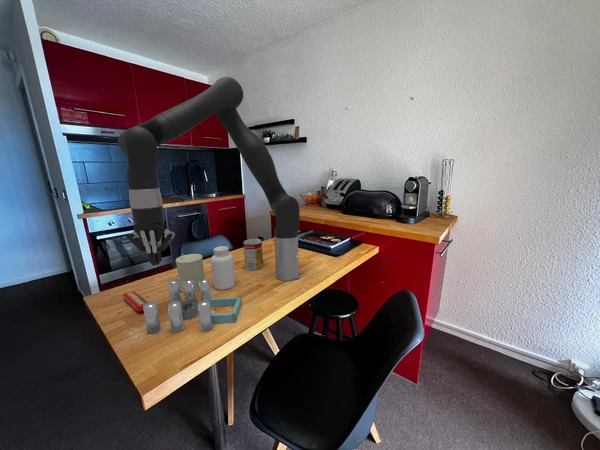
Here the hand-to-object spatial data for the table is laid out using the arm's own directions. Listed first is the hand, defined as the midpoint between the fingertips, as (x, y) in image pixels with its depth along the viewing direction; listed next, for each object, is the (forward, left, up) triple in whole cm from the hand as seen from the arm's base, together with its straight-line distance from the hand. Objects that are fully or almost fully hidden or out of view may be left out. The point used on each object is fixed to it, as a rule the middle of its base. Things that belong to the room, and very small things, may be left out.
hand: (156, 264), depth 72 cm
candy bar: (+13, -7, -17) cm, 23 cm away
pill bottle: (-14, -19, -17) cm, 29 cm away
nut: (-8, 0, -17) cm, 19 cm away
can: (-2, -19, -17) cm, 26 cm away
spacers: (-8, 0, -17) cm, 18 cm away
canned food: (-23, -36, -17) cm, 46 cm away
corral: (-18, 0, -17) cm, 24 cm away
